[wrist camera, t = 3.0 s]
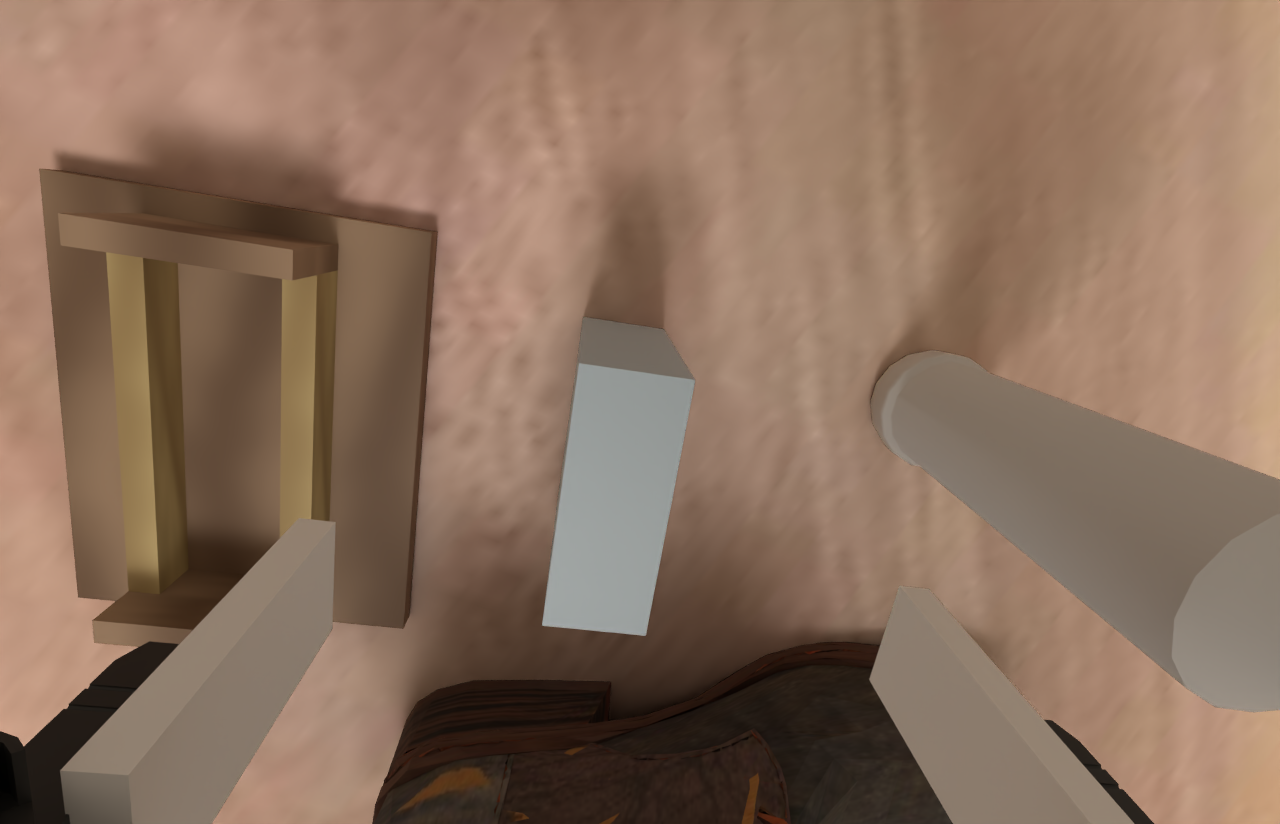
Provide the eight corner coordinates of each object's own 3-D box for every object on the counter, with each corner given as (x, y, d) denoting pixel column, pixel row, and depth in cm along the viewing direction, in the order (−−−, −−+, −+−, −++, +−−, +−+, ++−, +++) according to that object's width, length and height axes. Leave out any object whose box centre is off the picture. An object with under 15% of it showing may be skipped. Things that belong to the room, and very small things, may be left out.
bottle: (939, 469, 31) (2120, 1346, 7) (845, 431, 30) (1832, 1292, 6) (996, 370, 30) (2678, 1031, 6) (899, 328, 29) (2415, 903, 5)
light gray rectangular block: (663, 329, 28) (695, 379, 19) (630, 517, 31) (645, 635, 22) (583, 316, 28) (578, 363, 19) (556, 508, 30) (542, 625, 22)
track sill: (437, 232, 26) (402, 236, 21) (409, 615, 31) (375, 688, 26) (60, 170, 25) (-68, 160, 20) (94, 585, 30) (-2, 656, 25)
